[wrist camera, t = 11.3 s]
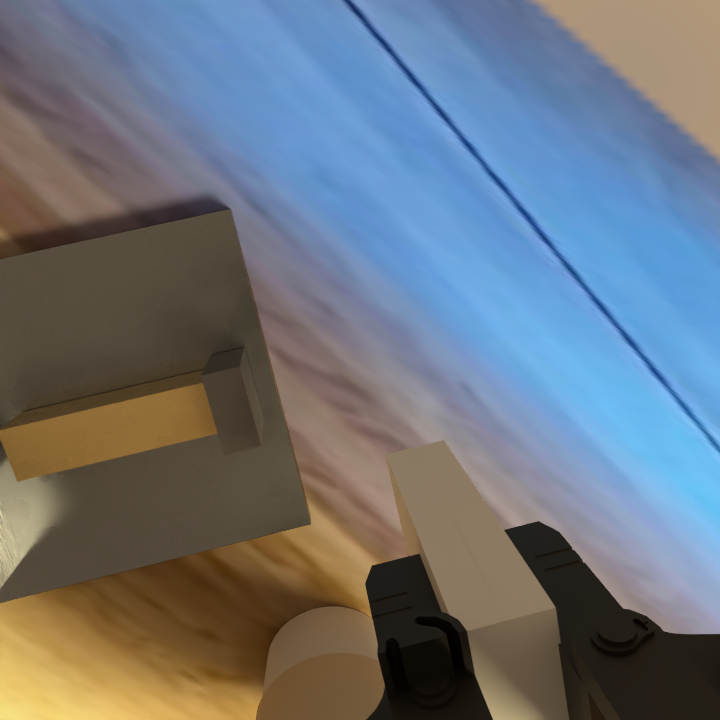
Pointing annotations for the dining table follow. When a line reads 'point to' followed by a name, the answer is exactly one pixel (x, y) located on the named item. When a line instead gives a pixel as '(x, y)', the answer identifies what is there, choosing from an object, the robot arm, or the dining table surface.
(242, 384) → the pin
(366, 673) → the coffee cup
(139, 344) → the dock
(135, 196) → the dining table surface
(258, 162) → the dining table surface
